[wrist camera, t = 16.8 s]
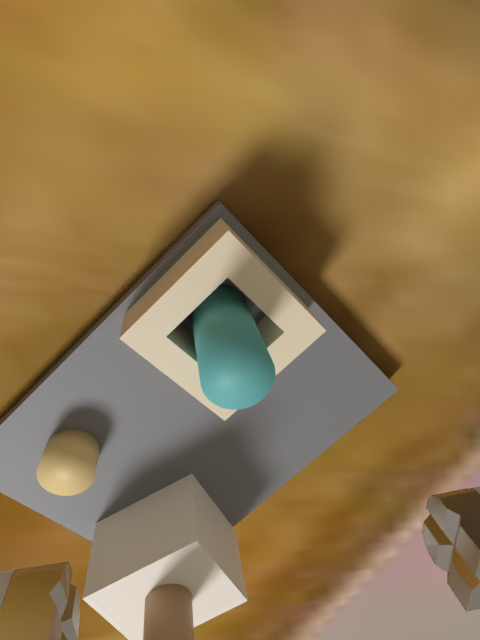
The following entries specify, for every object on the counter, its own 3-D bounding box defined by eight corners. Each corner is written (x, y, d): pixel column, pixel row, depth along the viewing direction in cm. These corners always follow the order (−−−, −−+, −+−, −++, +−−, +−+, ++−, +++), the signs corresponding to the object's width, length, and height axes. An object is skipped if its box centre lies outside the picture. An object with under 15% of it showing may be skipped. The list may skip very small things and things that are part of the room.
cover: (146, 575, 31) (139, 736, 23) (95, 523, 28) (67, 683, 20) (235, 530, 30) (261, 678, 22) (191, 473, 28) (202, 617, 20)
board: (166, 566, 32) (166, 625, 29) (-35, 454, 26) (-69, 510, 22) (389, 379, 29) (424, 417, 25) (218, 199, 23) (228, 213, 19)
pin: (225, 345, 25) (245, 421, 18) (179, 318, 24) (184, 388, 17) (257, 303, 24) (290, 366, 18) (212, 273, 23) (229, 329, 17)
